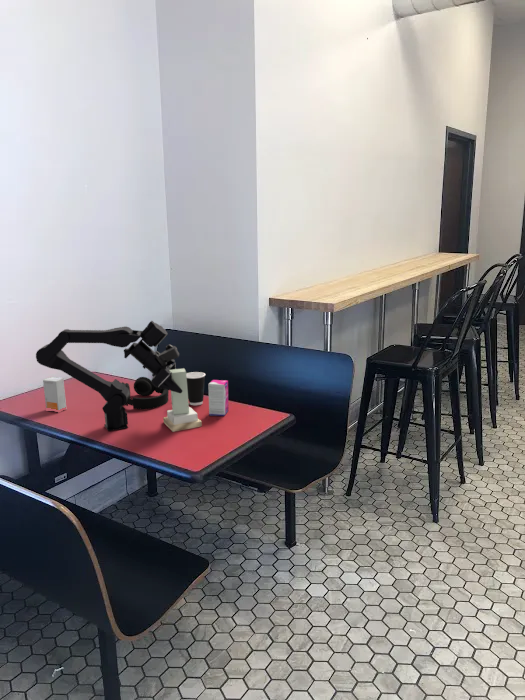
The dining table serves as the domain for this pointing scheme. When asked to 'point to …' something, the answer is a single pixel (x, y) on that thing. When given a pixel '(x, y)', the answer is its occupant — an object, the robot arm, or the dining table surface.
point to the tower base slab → (181, 425)
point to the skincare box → (54, 393)
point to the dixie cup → (195, 387)
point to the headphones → (145, 388)
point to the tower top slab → (182, 417)
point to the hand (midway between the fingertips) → (182, 388)
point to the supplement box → (218, 397)
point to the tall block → (180, 399)
